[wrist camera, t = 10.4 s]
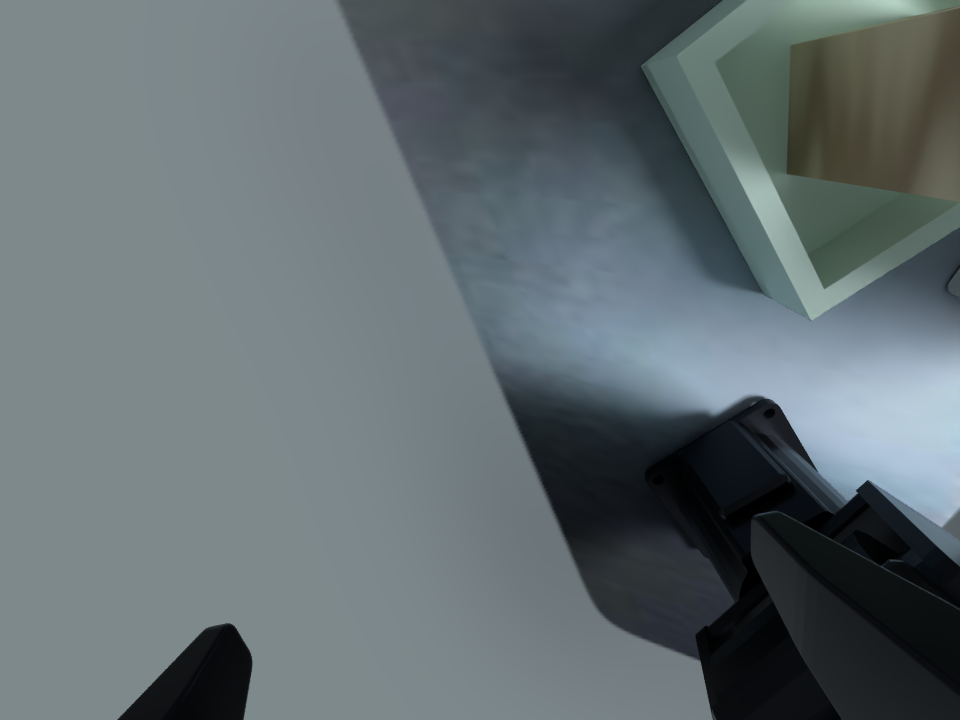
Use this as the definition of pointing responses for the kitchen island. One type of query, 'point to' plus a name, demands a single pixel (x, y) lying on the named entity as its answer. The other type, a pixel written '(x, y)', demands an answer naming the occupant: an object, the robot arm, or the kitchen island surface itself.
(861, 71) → the oak block
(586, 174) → the kitchen island surface
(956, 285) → the coffee box
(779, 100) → the tray
